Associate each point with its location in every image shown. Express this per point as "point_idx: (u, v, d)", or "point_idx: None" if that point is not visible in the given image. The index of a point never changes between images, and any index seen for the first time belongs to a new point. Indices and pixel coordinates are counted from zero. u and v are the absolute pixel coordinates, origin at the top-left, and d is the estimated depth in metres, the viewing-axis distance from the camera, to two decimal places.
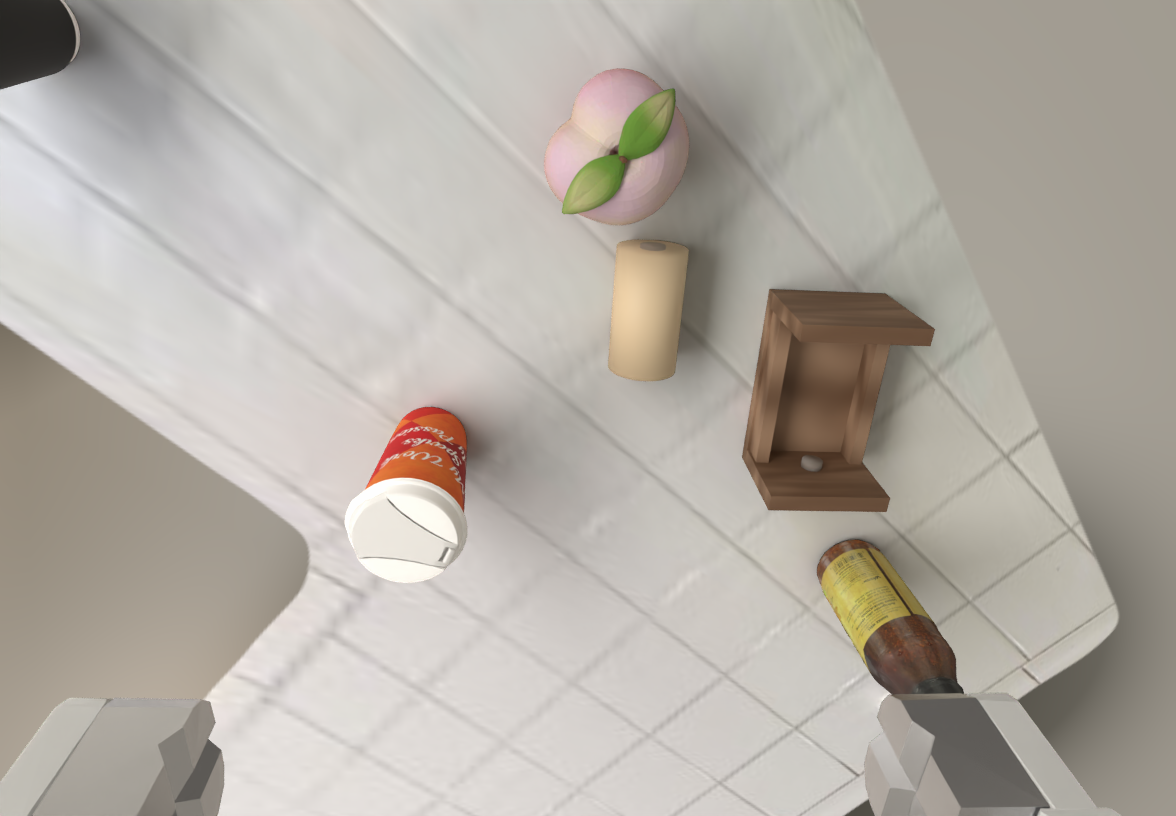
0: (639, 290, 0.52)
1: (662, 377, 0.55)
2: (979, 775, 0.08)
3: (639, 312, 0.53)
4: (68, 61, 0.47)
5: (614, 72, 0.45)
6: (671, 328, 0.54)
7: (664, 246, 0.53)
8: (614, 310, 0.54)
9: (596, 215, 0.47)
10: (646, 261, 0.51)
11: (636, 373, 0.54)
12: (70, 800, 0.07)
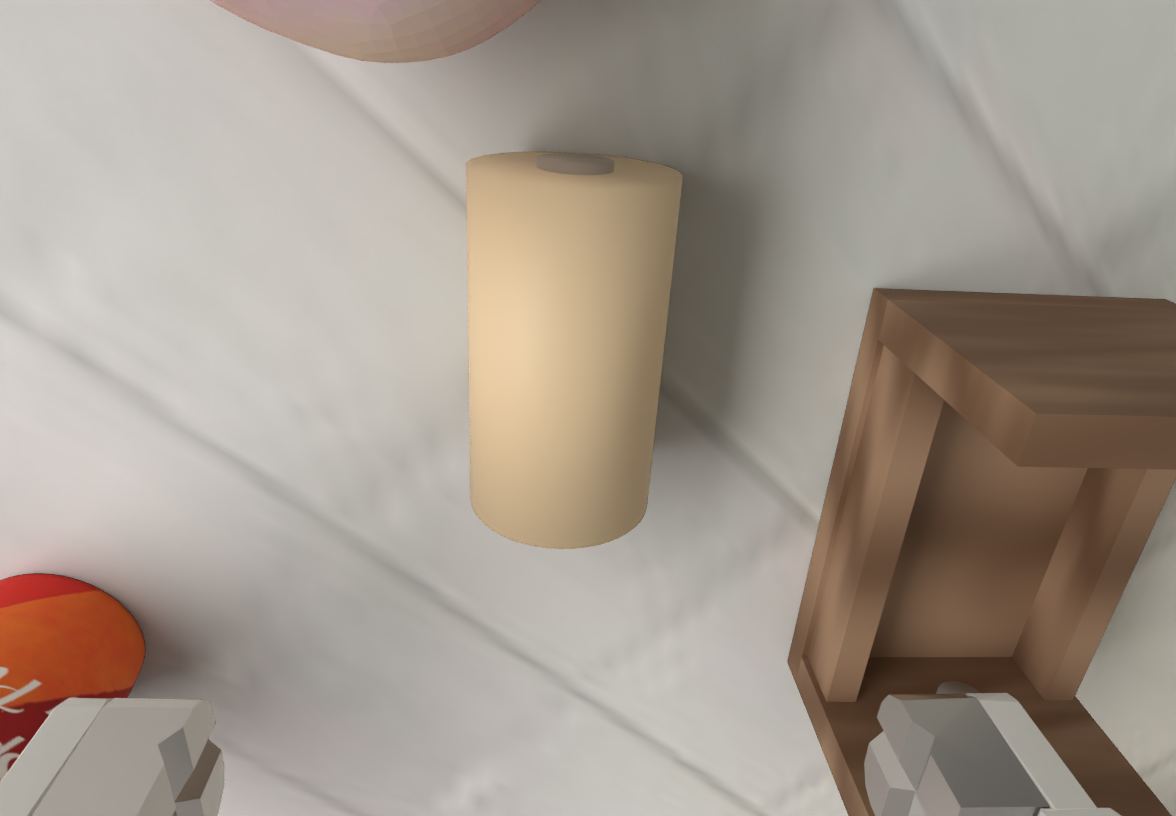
0: (555, 301, 0.17)
1: (626, 528, 0.20)
2: (979, 775, 0.08)
3: (558, 366, 0.17)
4: None
5: None
6: (647, 400, 0.19)
7: (610, 161, 0.18)
8: (477, 361, 0.19)
9: None
10: (573, 206, 0.16)
11: (558, 531, 0.19)
12: (70, 800, 0.07)
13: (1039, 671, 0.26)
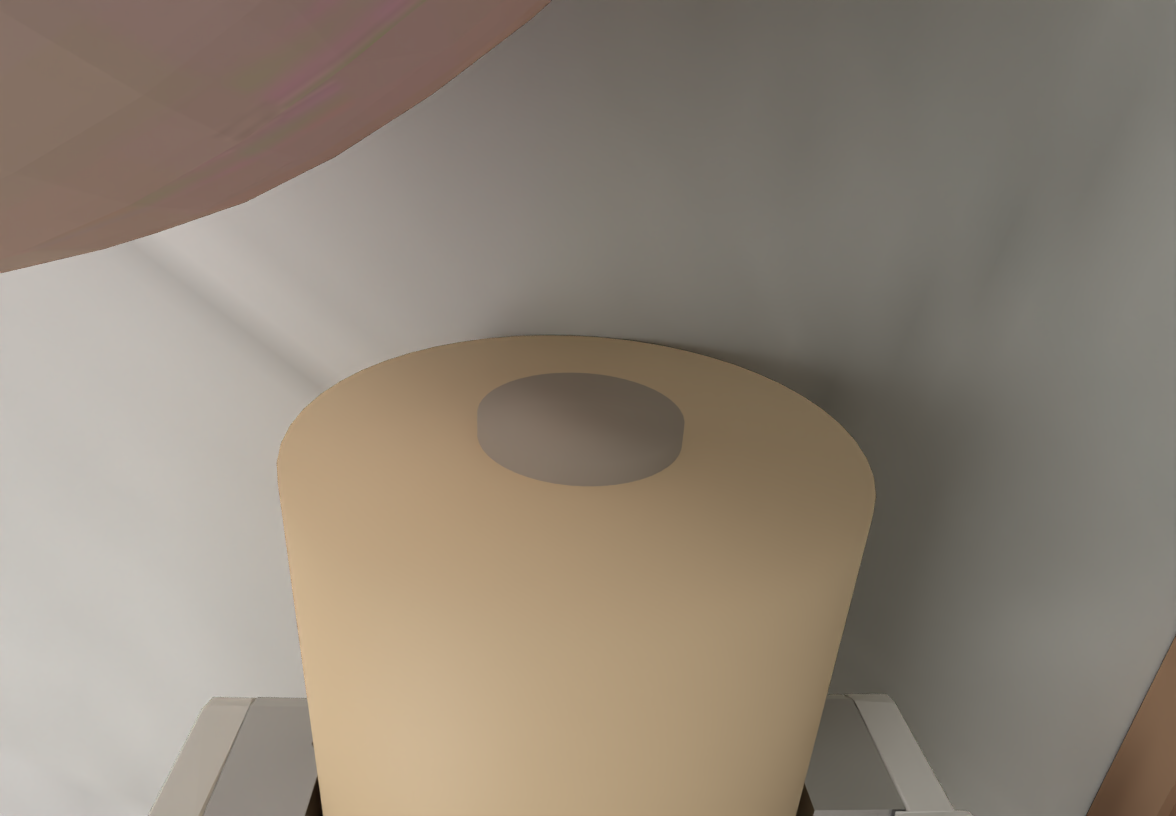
0: None
1: None
2: (840, 778, 0.08)
3: None
4: None
5: None
6: None
7: (671, 430, 0.06)
8: None
9: None
10: (473, 660, 0.05)
11: None
12: (238, 798, 0.07)
13: None
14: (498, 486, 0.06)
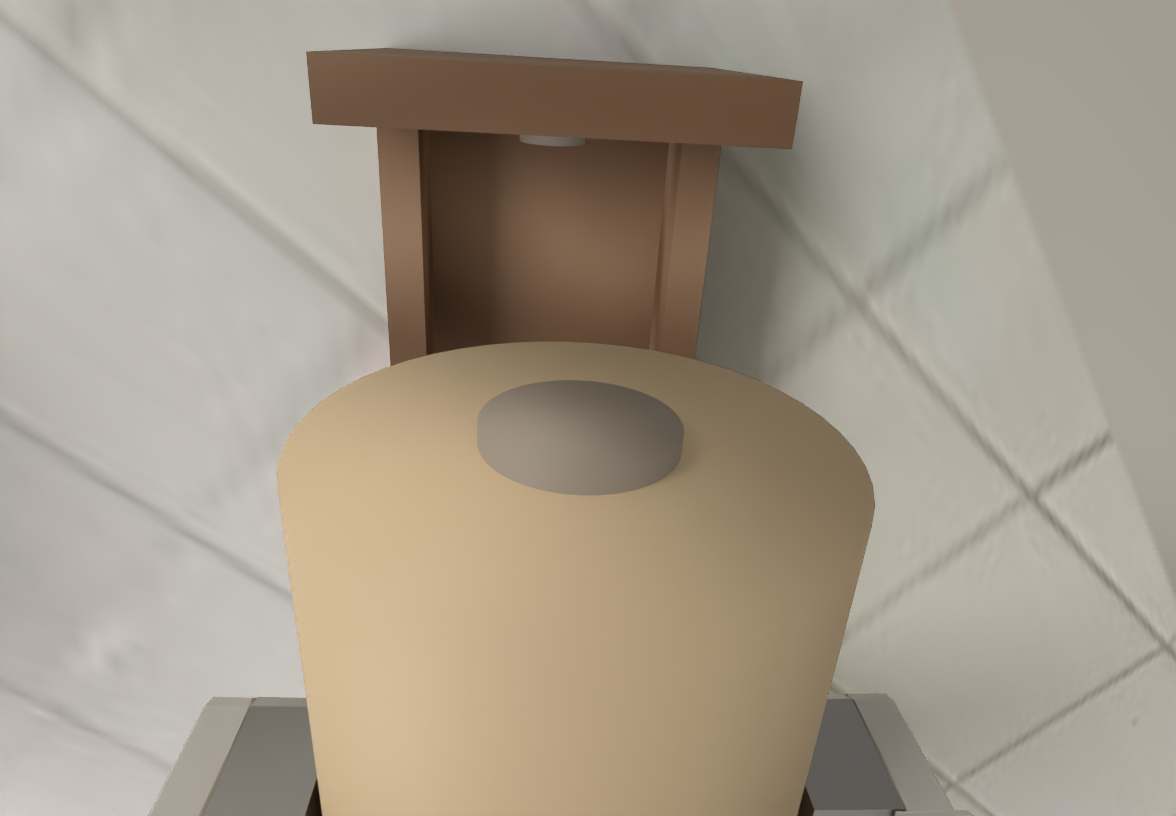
0: None
1: None
2: (840, 777, 0.08)
3: None
4: None
5: None
6: None
7: (670, 439, 0.06)
8: None
9: None
10: (472, 671, 0.05)
11: None
12: (239, 798, 0.07)
13: None
14: (497, 495, 0.06)
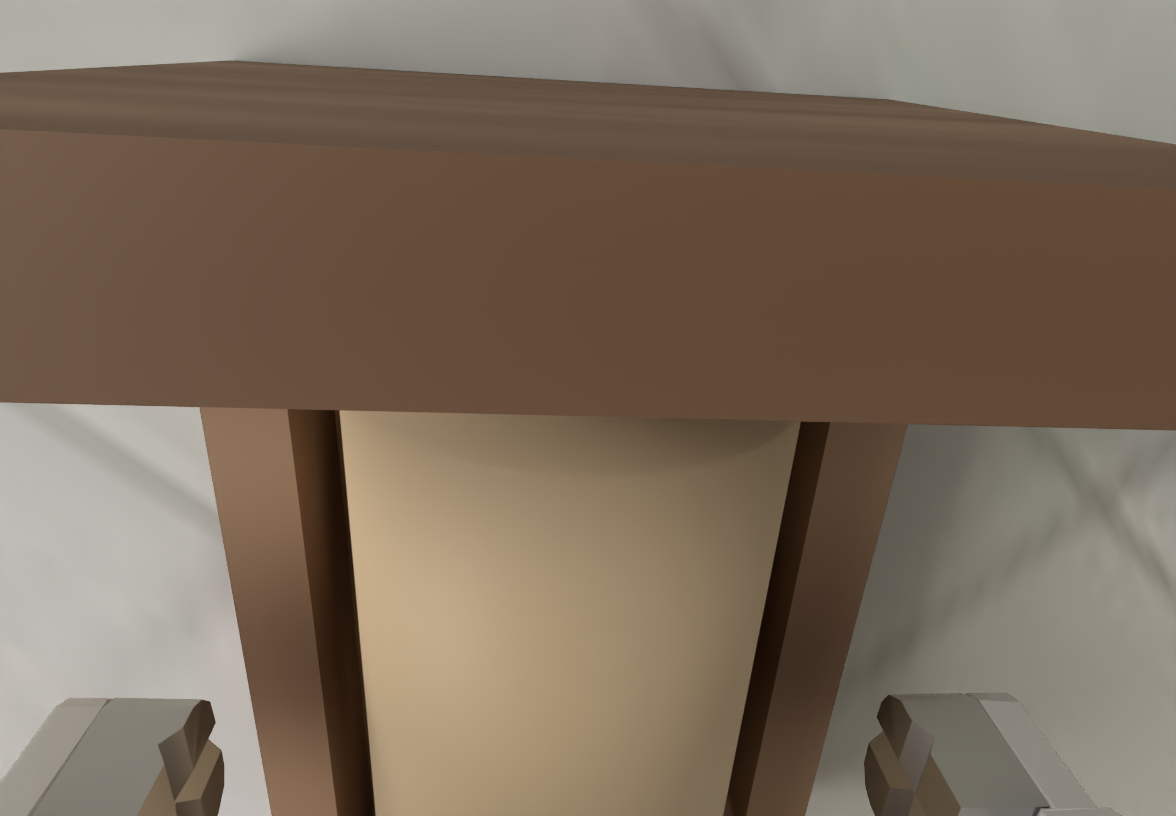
0: (469, 680, 0.07)
1: None
2: (979, 775, 0.08)
3: (480, 793, 0.08)
4: None
5: None
6: None
7: None
8: (366, 700, 0.10)
9: None
10: (497, 505, 0.06)
11: None
12: (70, 800, 0.07)
13: None
14: None
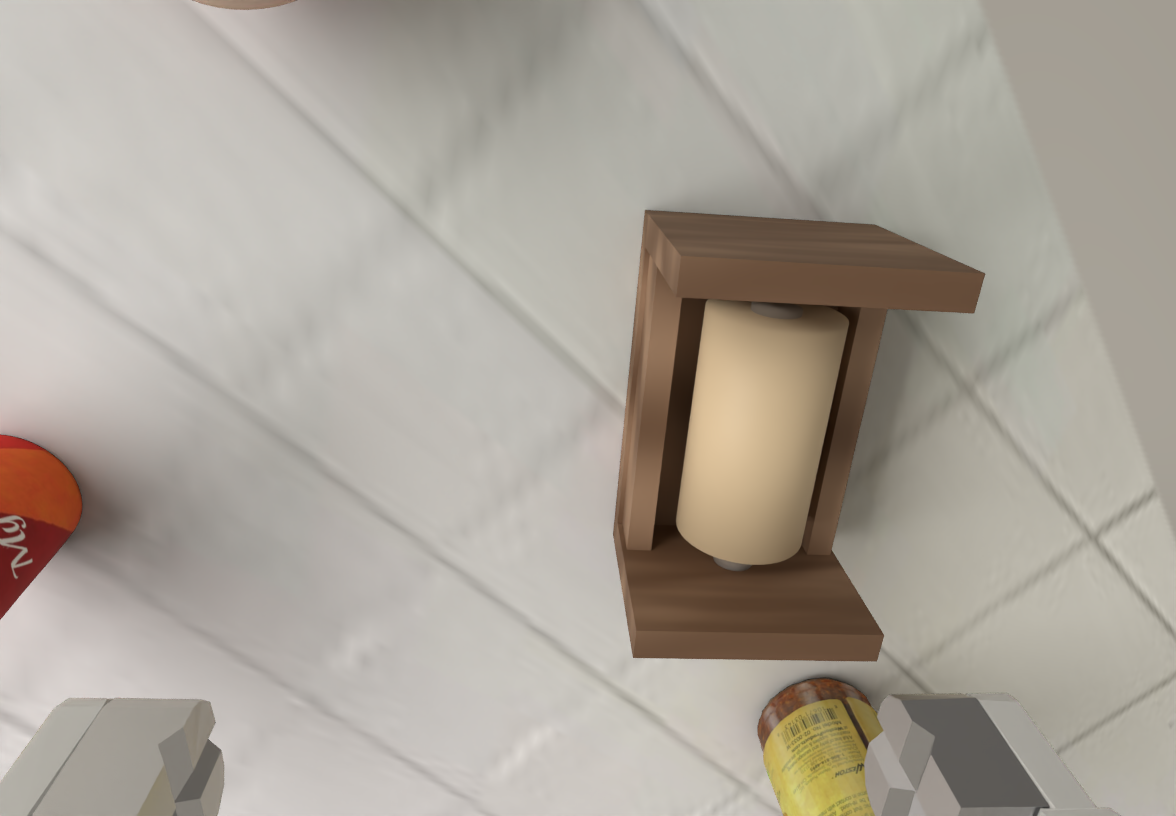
0: (754, 398, 0.26)
1: (784, 556, 0.29)
2: (979, 775, 0.08)
3: (751, 439, 0.26)
4: None
5: None
6: (809, 468, 0.28)
7: (800, 309, 0.27)
8: (696, 429, 0.28)
9: None
10: (773, 342, 0.25)
11: (737, 550, 0.28)
12: (71, 800, 0.07)
13: (804, 532, 0.32)
14: (764, 318, 0.26)
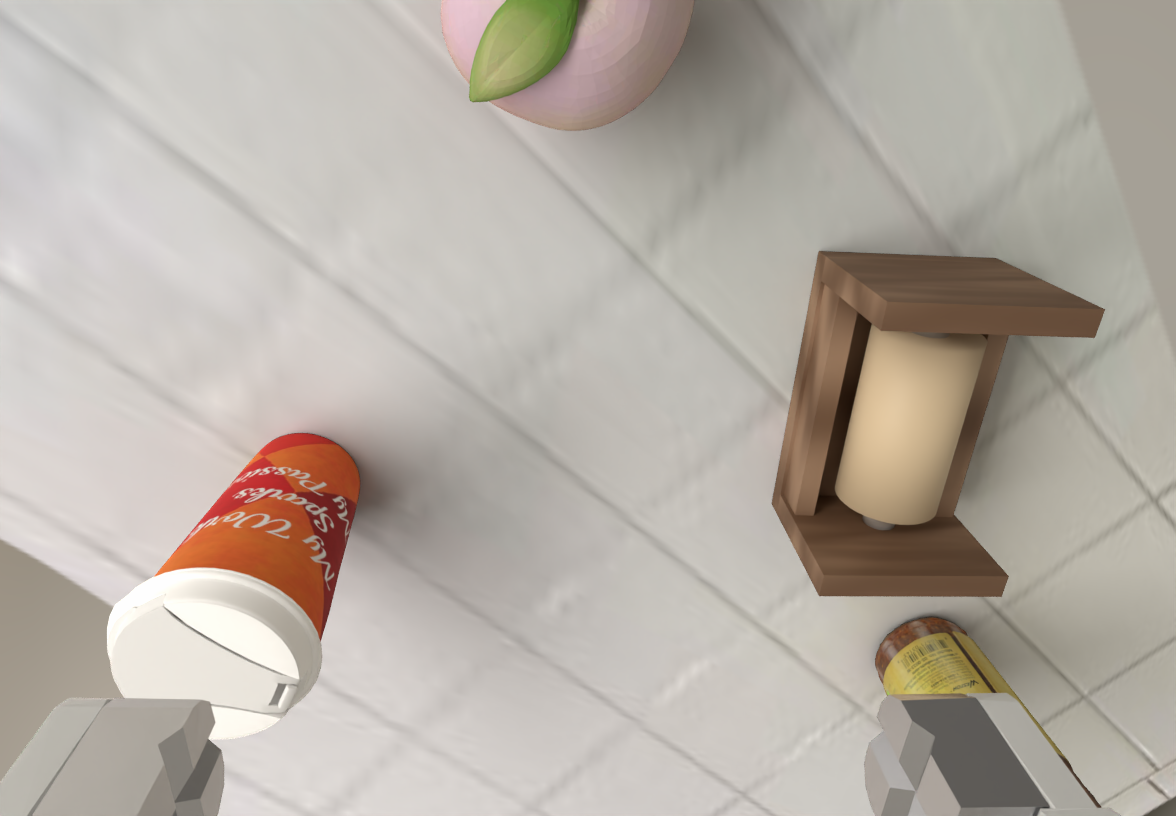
0: (917, 399, 0.34)
1: (928, 518, 0.37)
2: (980, 775, 0.08)
3: (912, 430, 0.35)
4: None
5: None
6: (952, 450, 0.36)
7: None
8: (862, 422, 0.37)
9: (532, 106, 0.27)
10: (935, 357, 0.33)
11: (894, 514, 0.37)
12: (70, 801, 0.07)
13: None
14: (923, 338, 0.34)
